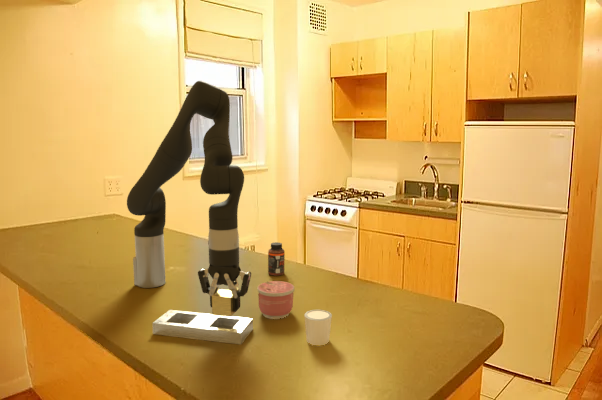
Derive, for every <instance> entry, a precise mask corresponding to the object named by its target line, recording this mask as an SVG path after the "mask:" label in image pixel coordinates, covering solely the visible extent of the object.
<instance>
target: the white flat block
mask: <svg viewBox="0 0 602 400" xmlns="http://www.w3.org/2000/svg"><path fill="white" fill-rule="evenodd" d="M151 325H152V326H151V327H152V334H153V335H157V336H158V335H160V336H166V337H167V336H168V337H175V338H176V337H177V338H183V339H193V340H201V341H210V342H216V343H217V342H218V343H226V344H235V345H242V344H243V343H244V341H245V340H246V338H247V337H248V336H249V335H250V333H251V332H252V331H253V330H254V318H250V317H243V316H234V315H232V316H231V317H229V316H219V315H212V313H205V312H195V311H187V310H175V309H174V310H173V309H168V310H167V311H166V312H165V313H164V314H162V315H161V316H160V317H158V318H157V319H155V320H154V321H153V322H152V324H151Z"/></svg>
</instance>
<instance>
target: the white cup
mask: <svg viewBox="0 0 602 400" xmlns="http://www.w3.org/2000/svg"><path fill="white" fill-rule="evenodd" d="M303 316H304V324H305V325H304V326H305V335H306V337H305V338H306V342H308V343H310V344H312V345H311V346H313V345H324V344H327V343H328V342H329V343H330V334H331V328H332V327H331V325H332V317H333V314H332V313H331V312H330V311H327V310H323V309H311V310H307V311H306V312H305V313H304V315H303ZM308 343H307V344H308ZM329 343H328V344H329ZM310 344H309V345H310ZM328 344H327V345H328ZM324 346H325V345H324Z"/></svg>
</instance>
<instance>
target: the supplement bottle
mask: <svg viewBox="0 0 602 400" xmlns="http://www.w3.org/2000/svg"><path fill="white" fill-rule="evenodd" d="M285 257H286V255H285V250H284V248H283V243H282V242H272V243H270V248H269V249H268V251H267V258H268V259H267V261H268V262H267V264H268V265H267V272H268V274H269V275H270V276H274V277H275V276H276V277H277V276H283V275H284V274H285V259H286V258H285Z"/></svg>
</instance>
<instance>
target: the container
mask: <svg viewBox="0 0 602 400" xmlns="http://www.w3.org/2000/svg"><path fill="white" fill-rule="evenodd" d="M256 288H257V289H256V290H257V292H258V293H257V295H258V296H257V297H258V308H259V310H260V312H261V313H262V316H263V317H265V318H267V319H270V320H273V319H274V320H280V318H281V319H284V317H285V318H287V317H289V314H290V313H291V312H292V310H293V306H294V292H295V285H294V284H292V283H290V282H287V281H281V280H274V281H273V280H272V281H266V282H262V283H260V284H258V286H257V287H256ZM286 316H287V317H286Z"/></svg>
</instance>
